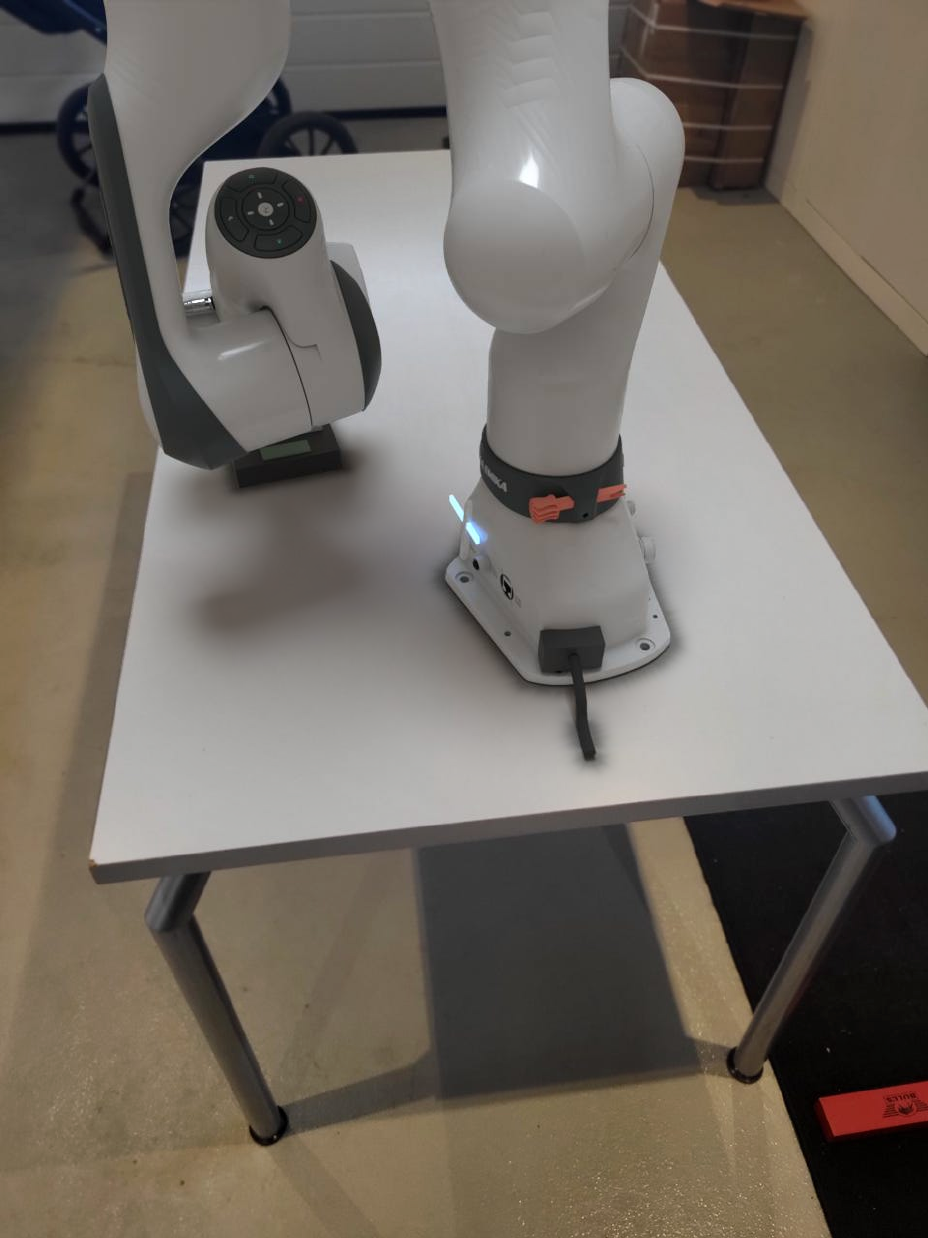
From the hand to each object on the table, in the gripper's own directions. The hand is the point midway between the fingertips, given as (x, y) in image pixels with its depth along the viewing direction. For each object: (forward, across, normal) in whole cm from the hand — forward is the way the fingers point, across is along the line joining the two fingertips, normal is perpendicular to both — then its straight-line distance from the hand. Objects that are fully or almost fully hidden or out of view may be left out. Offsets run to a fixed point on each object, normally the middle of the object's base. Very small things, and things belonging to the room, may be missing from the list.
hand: (264, 341), depth 89 cm
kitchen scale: (+8, 0, -9) cm, 12 cm away
